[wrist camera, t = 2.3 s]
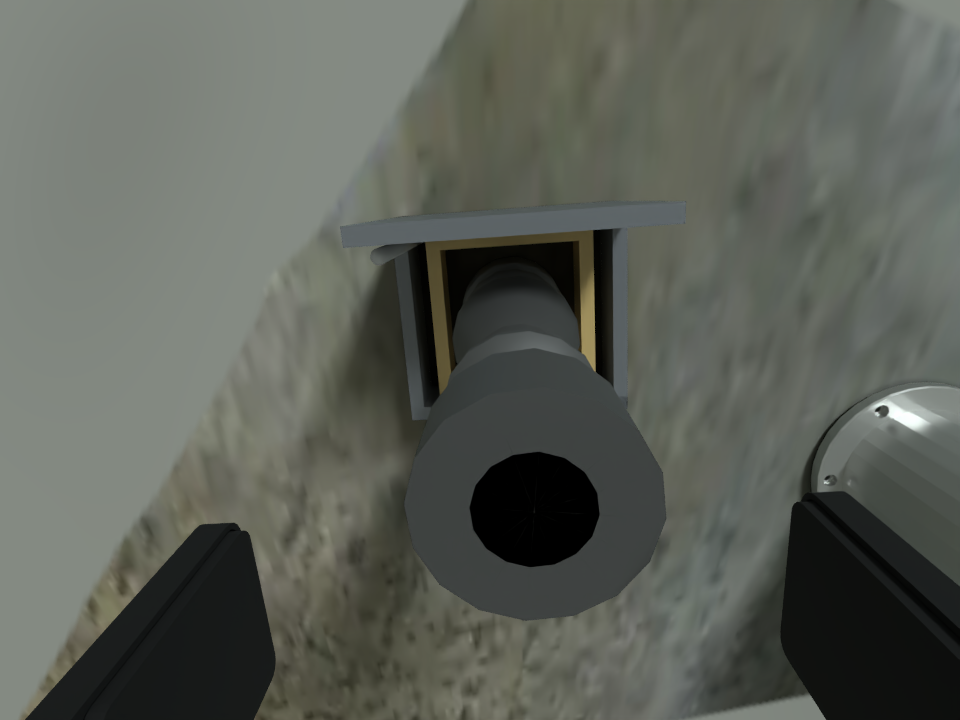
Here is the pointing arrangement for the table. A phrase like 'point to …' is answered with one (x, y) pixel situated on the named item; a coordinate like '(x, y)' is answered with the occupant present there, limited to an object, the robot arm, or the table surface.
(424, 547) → the candle holder
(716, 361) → the table surface
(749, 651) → the table surface
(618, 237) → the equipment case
